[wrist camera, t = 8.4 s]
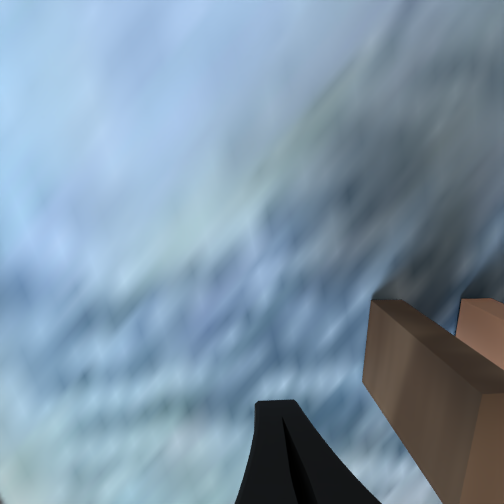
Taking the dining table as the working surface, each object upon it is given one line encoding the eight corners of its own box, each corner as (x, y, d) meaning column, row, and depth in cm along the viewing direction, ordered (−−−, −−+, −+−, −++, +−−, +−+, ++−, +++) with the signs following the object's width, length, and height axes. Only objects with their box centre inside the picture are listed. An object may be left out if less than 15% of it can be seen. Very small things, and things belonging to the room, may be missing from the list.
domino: (401, 299, 16) (535, 392, 9) (391, 380, 17) (503, 518, 10) (371, 300, 16) (482, 394, 9) (362, 381, 17) (455, 522, 10)
